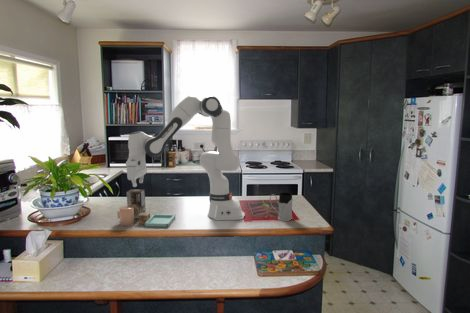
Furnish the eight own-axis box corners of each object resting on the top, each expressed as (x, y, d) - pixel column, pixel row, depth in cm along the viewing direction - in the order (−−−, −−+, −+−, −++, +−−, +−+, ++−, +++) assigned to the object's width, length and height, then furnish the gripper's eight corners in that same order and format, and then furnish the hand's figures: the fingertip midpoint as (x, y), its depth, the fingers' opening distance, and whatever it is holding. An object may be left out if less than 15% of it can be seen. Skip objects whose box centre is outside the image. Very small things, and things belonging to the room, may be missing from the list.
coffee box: (146, 215, 199) (145, 189, 197) (142, 218, 193) (141, 192, 190) (131, 214, 200) (130, 189, 198) (127, 218, 194) (126, 191, 191)
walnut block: (150, 221, 189) (150, 212, 188) (147, 224, 184) (147, 215, 184) (142, 220, 190) (141, 212, 189) (138, 223, 185) (138, 215, 184)
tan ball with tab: (136, 221, 188) (135, 206, 187) (131, 226, 180) (130, 210, 179) (121, 221, 189) (120, 205, 187) (115, 225, 181) (114, 209, 180)
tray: (175, 217, 195) (175, 214, 194) (168, 227, 179) (167, 223, 179) (154, 217, 196) (153, 214, 195) (144, 226, 180) (144, 223, 179)
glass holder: (290, 221, 189) (290, 196, 187) (266, 218, 195) (267, 193, 193) (294, 217, 197) (295, 193, 195) (271, 214, 203) (272, 190, 201)
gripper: (138, 157, 193) (139, 180, 195) (124, 163, 173) (125, 188, 175) (148, 157, 193) (149, 180, 195) (135, 163, 173) (136, 189, 175)
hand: (138, 184), depth 185 cm, fingers open, 8 cm apart
